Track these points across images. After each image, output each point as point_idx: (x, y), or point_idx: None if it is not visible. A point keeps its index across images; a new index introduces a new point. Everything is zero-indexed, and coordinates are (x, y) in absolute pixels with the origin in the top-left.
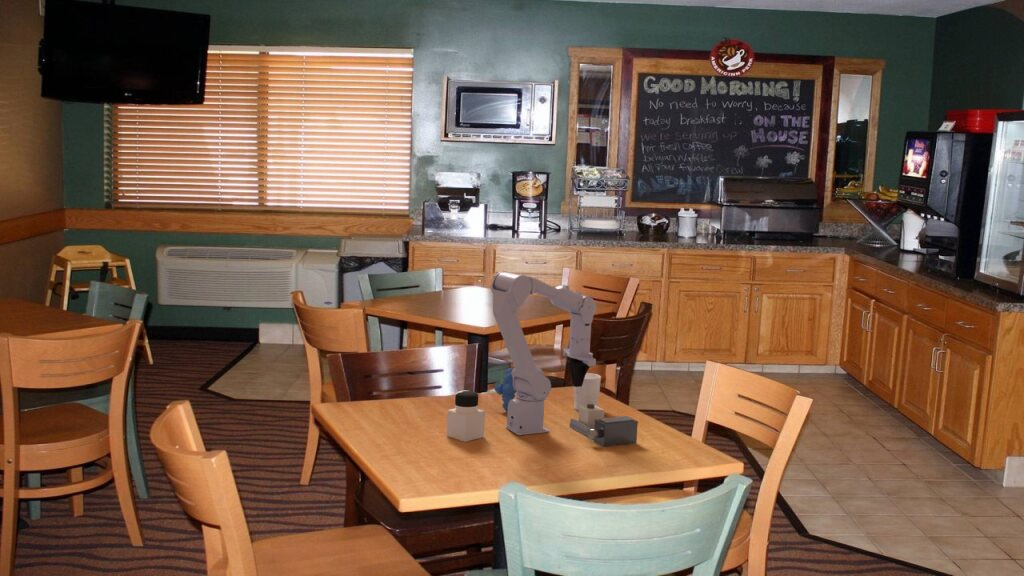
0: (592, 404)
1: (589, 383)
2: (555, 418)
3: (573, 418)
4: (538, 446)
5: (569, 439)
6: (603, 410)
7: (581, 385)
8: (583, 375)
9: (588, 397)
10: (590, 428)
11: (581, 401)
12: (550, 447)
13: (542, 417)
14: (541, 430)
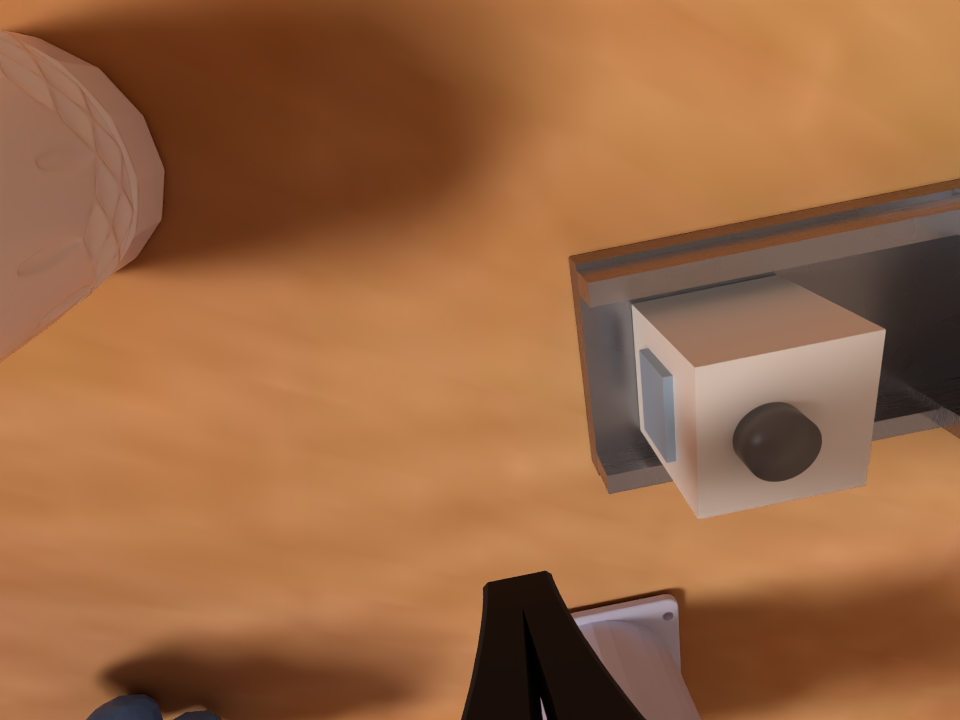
0: (780, 432)
1: (1, 268)
2: (369, 492)
3: (615, 475)
4: (861, 671)
5: (826, 522)
6: (879, 337)
7: (553, 586)
8: (608, 715)
9: (108, 219)
10: (886, 433)
11: (110, 274)
12: (901, 630)
13: (686, 703)
14: (663, 635)
